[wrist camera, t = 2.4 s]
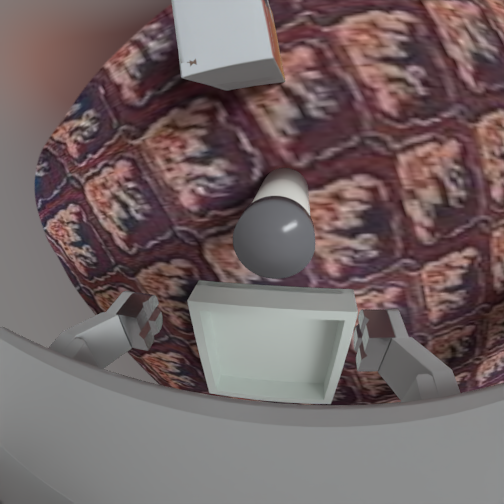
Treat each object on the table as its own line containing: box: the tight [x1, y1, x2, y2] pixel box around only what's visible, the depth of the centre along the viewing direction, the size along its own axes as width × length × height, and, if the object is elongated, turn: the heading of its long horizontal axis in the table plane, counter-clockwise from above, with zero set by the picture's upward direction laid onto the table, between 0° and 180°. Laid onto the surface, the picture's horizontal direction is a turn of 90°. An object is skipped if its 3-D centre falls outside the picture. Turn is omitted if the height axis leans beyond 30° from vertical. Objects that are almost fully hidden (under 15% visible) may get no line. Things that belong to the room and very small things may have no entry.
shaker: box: [233, 168, 315, 279], centre depth 21 cm, size 5×5×12 cm
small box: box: [172, 0, 285, 91], centre depth 16 cm, size 8×6×10 cm
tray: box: [187, 280, 358, 404], centre depth 34 cm, size 18×18×4 cm
